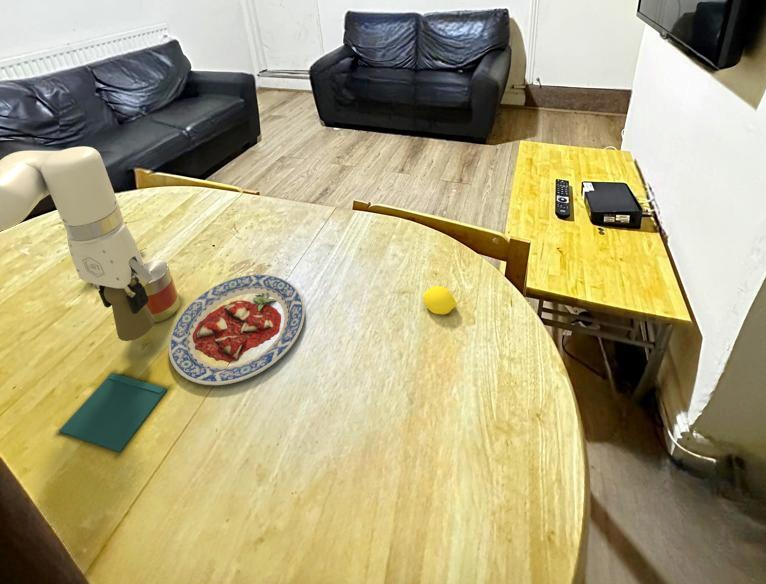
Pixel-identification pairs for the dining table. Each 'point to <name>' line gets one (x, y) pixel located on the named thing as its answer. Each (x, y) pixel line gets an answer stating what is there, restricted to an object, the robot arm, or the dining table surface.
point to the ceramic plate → (235, 329)
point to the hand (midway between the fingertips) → (127, 303)
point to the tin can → (161, 291)
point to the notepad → (114, 412)
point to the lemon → (439, 300)
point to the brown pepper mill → (128, 315)
